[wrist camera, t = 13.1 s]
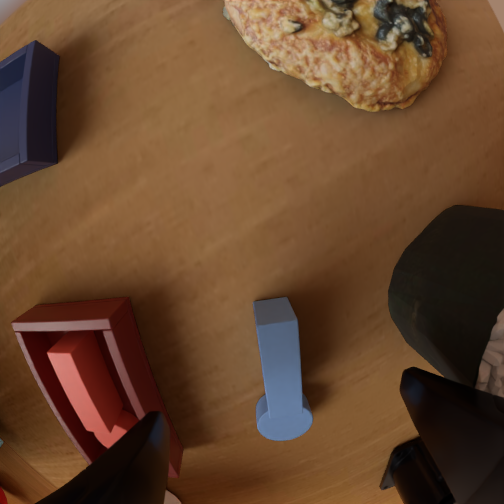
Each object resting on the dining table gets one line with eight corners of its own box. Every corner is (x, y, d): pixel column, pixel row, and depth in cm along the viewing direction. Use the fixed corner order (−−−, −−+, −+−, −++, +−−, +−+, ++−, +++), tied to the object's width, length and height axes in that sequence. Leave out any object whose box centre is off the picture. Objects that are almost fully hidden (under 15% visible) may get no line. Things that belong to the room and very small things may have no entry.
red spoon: (151, 440, 14) (143, 469, 11) (111, 437, 13) (100, 464, 11) (104, 328, 12) (82, 353, 10) (60, 329, 12) (36, 351, 10)
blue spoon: (308, 419, 14) (317, 448, 12) (258, 427, 14) (262, 458, 12) (301, 293, 12) (315, 316, 10) (237, 303, 12) (238, 328, 10)
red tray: (183, 449, 14) (179, 478, 12) (101, 443, 14) (90, 467, 12) (129, 296, 12) (108, 318, 10) (36, 304, 12) (10, 322, 10)
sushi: (505, 280, 13) (591, 322, 5) (422, 372, 14) (496, 455, 6) (466, 175, 12) (588, 182, 4) (362, 281, 13) (478, 378, 5)
